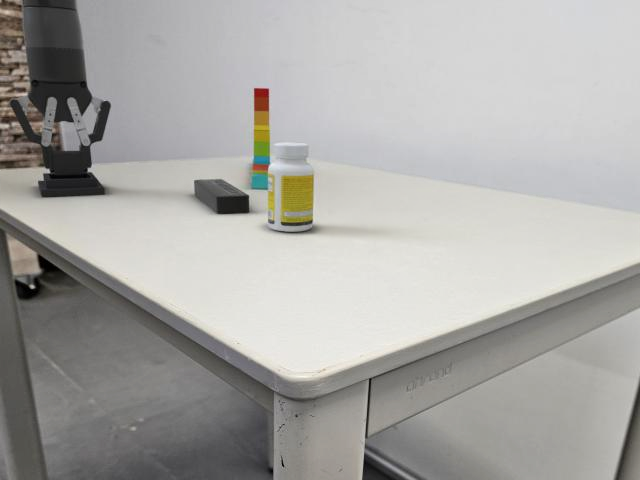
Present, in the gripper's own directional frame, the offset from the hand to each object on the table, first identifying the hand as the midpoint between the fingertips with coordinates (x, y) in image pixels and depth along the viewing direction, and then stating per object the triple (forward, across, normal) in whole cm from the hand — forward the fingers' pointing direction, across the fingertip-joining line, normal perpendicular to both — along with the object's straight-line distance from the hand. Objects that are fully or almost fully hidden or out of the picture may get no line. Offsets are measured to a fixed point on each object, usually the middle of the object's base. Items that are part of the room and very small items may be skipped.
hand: (68, 171), depth 94 cm
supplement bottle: (+3, +22, -33) cm, 40 cm away
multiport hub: (+3, +18, -15) cm, 24 cm away
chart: (+3, +33, +9) cm, 35 cm away
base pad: (+3, 0, 0) cm, 3 cm away
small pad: (0, 0, 0) cm, 0 cm away
